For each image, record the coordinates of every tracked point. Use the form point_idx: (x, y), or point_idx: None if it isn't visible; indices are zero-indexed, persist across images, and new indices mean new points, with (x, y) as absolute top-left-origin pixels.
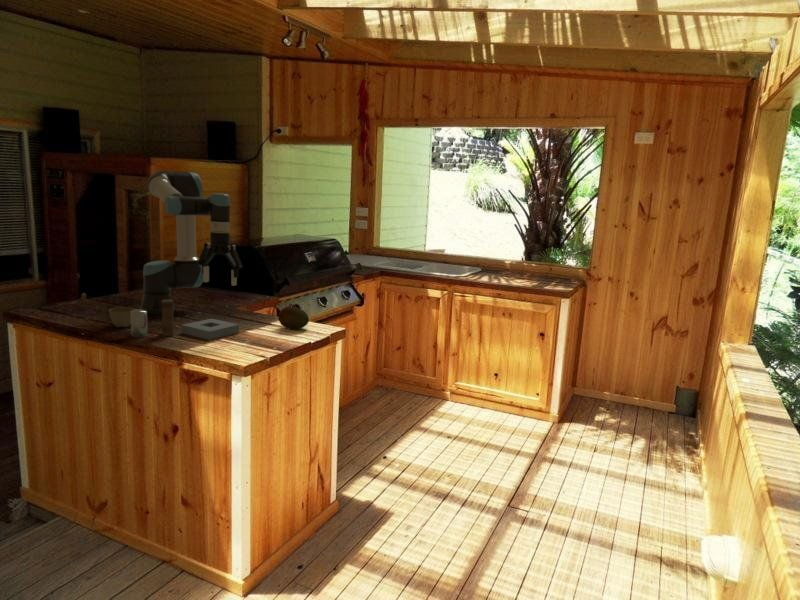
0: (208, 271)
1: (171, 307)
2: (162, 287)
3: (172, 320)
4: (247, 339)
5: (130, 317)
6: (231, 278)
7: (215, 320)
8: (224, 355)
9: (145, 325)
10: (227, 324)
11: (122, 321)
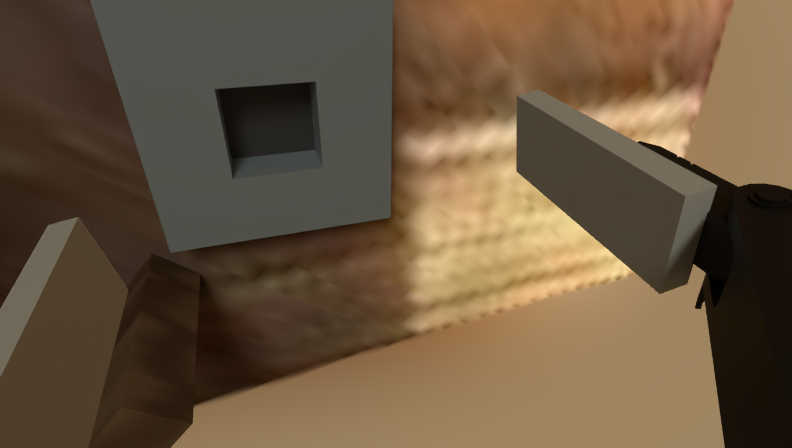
0: (33, 345)
1: (190, 394)
2: None
3: (196, 330)
4: (501, 61)
5: None
6: (569, 215)
7: (180, 24)
8: (550, 260)
9: None
10: (339, 48)
11: None
